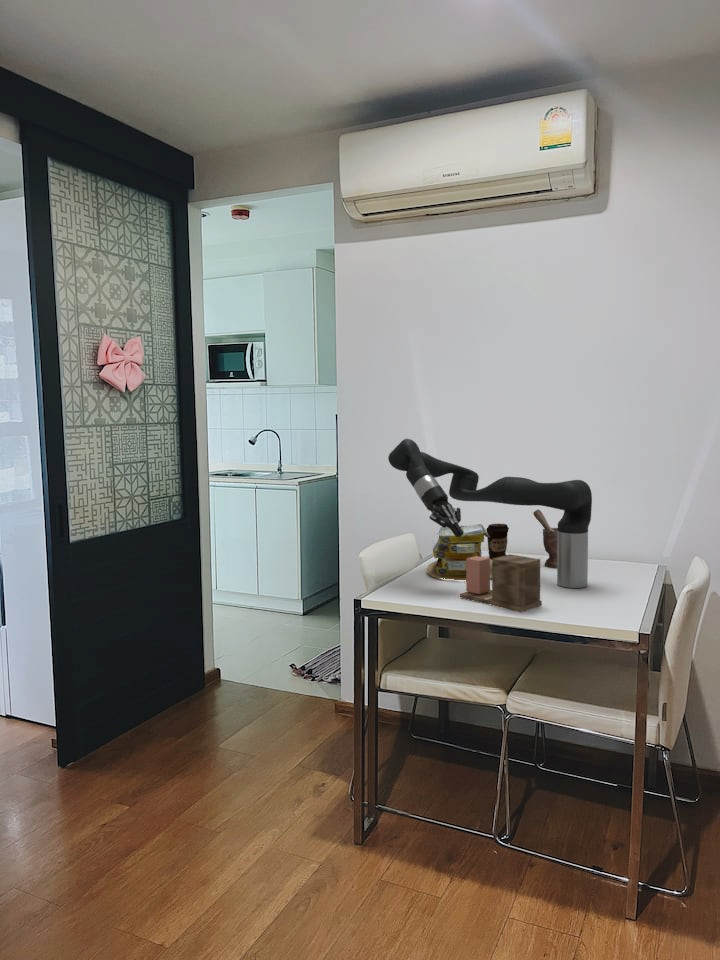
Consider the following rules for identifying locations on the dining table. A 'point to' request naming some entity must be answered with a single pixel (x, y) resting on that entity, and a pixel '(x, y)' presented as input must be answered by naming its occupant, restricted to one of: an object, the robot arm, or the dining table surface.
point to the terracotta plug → (478, 574)
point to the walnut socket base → (512, 584)
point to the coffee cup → (497, 540)
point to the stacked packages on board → (456, 552)
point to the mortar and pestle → (548, 539)
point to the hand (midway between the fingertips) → (460, 535)
